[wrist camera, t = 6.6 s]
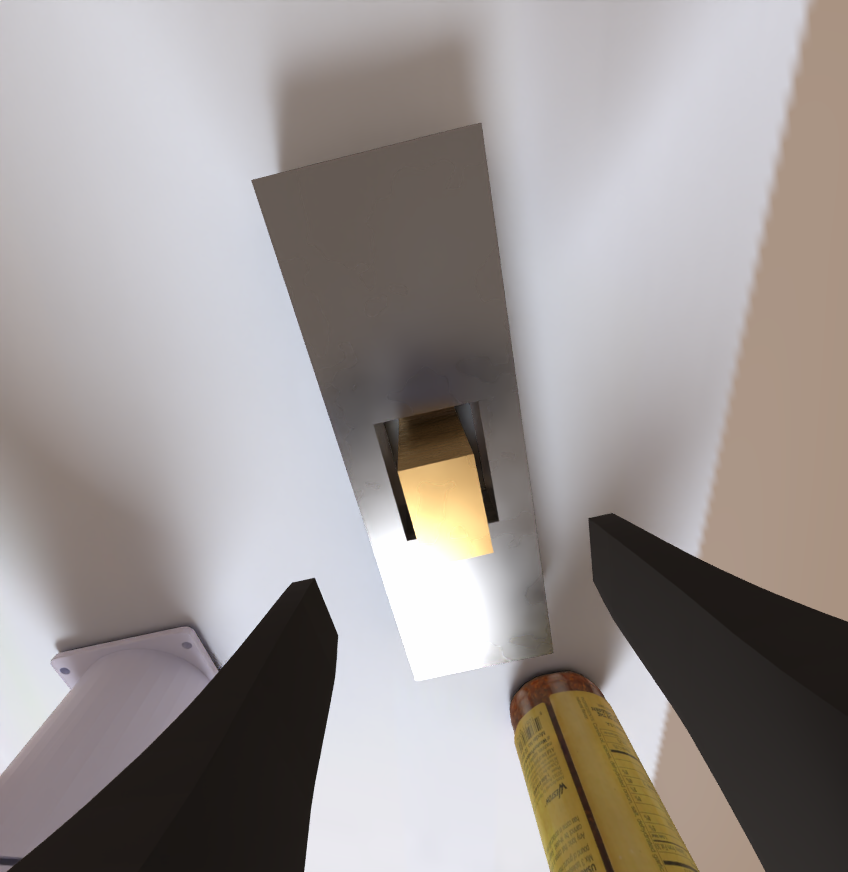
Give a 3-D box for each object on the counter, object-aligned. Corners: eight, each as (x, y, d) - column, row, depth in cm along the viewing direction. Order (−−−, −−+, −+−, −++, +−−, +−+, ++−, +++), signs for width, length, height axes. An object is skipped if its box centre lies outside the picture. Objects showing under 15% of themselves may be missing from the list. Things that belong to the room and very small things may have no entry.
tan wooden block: (467, 473, 19) (493, 552, 13) (418, 484, 19) (425, 567, 13) (451, 400, 18) (473, 453, 12) (399, 412, 18) (397, 471, 12)
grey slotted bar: (534, 606, 22) (553, 653, 19) (414, 631, 22) (416, 681, 20) (466, 154, 14) (481, 122, 11) (280, 200, 14) (251, 180, 12)
